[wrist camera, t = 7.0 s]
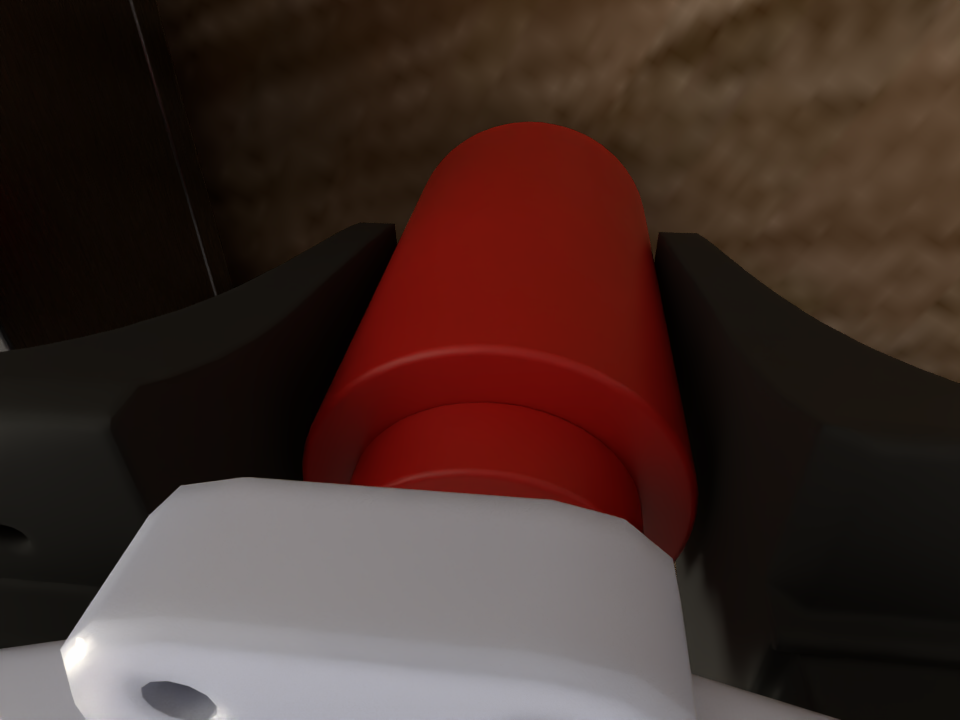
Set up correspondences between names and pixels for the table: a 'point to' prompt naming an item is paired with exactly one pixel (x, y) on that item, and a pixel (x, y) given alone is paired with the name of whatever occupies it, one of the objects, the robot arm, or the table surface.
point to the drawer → (96, 175)
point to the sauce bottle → (518, 344)
